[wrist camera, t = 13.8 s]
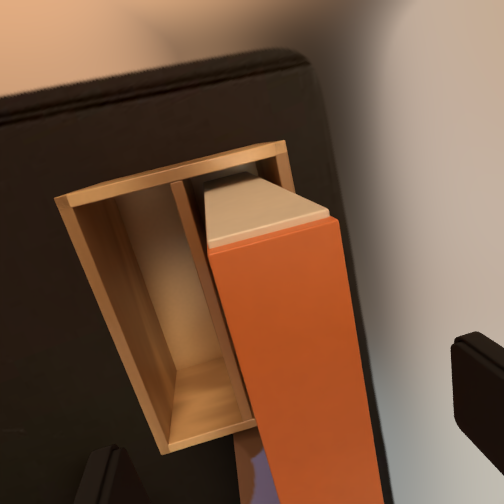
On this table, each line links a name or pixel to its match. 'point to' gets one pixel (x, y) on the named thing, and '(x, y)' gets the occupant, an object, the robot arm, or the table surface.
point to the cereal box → (253, 469)
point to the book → (294, 338)
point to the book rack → (169, 289)
